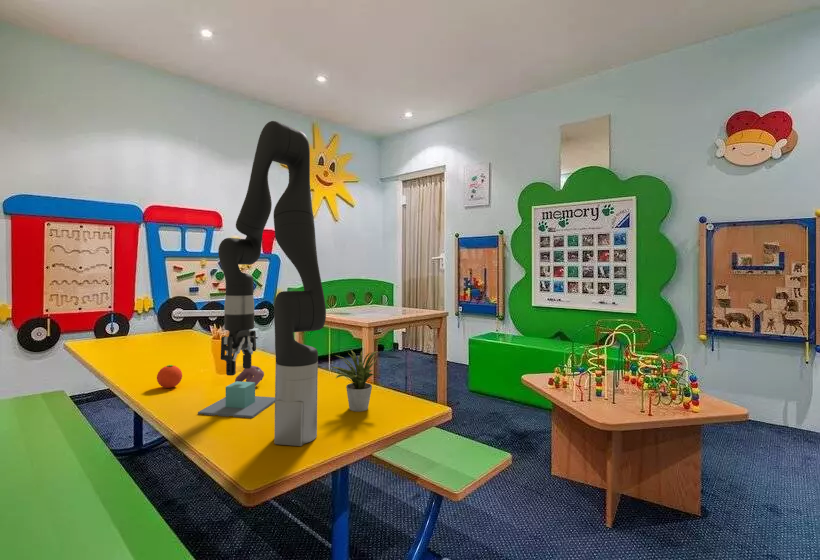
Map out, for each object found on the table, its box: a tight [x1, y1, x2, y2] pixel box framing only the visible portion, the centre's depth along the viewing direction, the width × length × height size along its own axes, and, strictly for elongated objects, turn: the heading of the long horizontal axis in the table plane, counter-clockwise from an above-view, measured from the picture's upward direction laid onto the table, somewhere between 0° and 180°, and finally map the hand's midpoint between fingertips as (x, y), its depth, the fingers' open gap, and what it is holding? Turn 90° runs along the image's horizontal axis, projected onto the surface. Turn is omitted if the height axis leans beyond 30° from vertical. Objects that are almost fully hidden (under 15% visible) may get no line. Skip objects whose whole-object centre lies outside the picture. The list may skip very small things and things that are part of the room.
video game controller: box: [234, 365, 265, 387], centre depth 136 cm, size 10×5×7 cm, turn 48°
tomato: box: [156, 364, 183, 389], centre depth 131 cm, size 8×7×7 cm
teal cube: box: [225, 381, 256, 408], centre depth 114 cm, size 6×6×6 cm
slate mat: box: [197, 395, 275, 419], centre depth 114 cm, size 15×15×1 cm
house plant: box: [331, 350, 381, 412], centre depth 116 cm, size 14×14×16 cm
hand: (239, 371), depth 113 cm, fingers open, 8 cm apart
